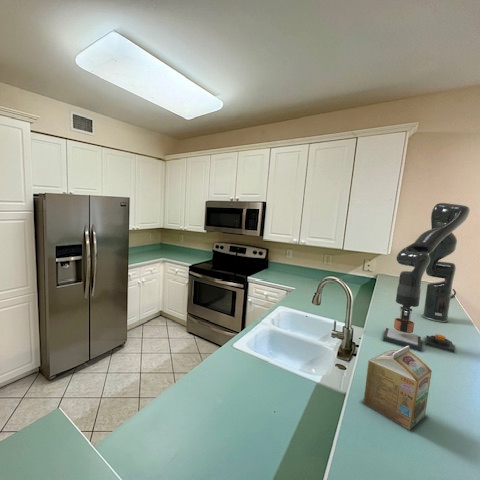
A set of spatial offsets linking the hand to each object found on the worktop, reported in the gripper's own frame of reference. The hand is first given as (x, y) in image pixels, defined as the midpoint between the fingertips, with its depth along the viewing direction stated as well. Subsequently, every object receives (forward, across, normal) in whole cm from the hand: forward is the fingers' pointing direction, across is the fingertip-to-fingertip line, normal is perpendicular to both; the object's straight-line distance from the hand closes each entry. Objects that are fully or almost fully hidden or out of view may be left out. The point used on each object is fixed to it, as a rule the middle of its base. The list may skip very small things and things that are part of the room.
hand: (403, 328), depth 115 cm
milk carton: (+6, -60, 0) cm, 60 cm away
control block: (+6, +8, -12) cm, 15 cm away
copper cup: (+1, 0, 0) cm, 1 cm away
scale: (+6, 0, 0) cm, 6 cm away
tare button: (+3, +8, -12) cm, 15 cm away
